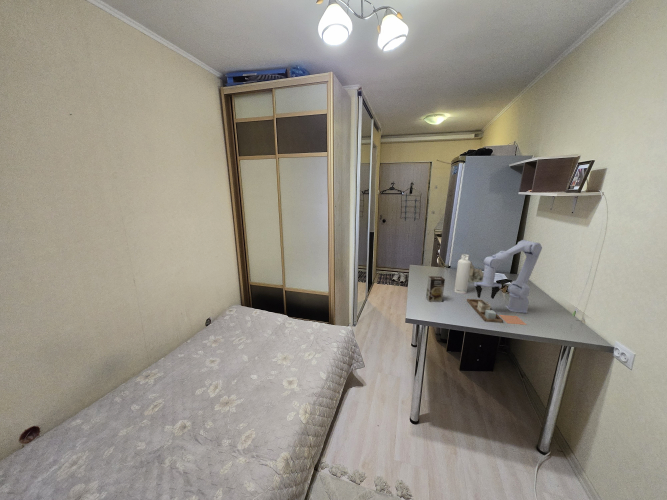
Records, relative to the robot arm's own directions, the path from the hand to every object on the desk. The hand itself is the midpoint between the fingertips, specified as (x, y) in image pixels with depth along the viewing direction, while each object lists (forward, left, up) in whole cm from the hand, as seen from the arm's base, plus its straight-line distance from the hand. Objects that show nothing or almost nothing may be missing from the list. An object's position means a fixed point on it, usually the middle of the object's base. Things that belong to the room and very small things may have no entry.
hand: (485, 297), depth 151 cm
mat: (-12, +9, -9) cm, 18 cm away
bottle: (+3, -31, -10) cm, 33 cm away
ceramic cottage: (-16, -59, -10) cm, 62 cm away
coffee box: (+26, -13, -10) cm, 31 cm away
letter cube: (0, 0, -9) cm, 9 cm away
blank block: (0, +9, -9) cm, 12 cm away
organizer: (0, 0, -9) cm, 9 cm away
